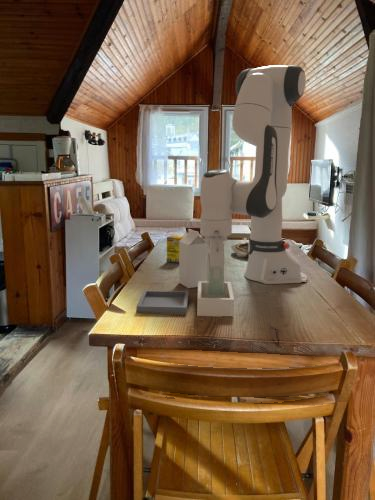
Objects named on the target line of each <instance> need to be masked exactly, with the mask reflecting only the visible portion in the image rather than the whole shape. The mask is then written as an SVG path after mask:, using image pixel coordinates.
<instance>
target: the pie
mask: <svg viewBox="0 0 375 500" xmlns="http://www.w3.org/2000/svg"><path fill="white" fill-rule="evenodd" d="M248 243H249V242H247V241H246V242H243V243H242V242H241V243H238V244H232V246H231V250H232V251H233V252H234V253H235V255H236V256H237V258H239V257H240V258H239V259H247V260H248V258H249V253H248Z"/></svg>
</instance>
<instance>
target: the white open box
mask: <svg viewBox="0 0 375 500" xmlns="http://www.w3.org/2000/svg"><path fill="white" fill-rule="evenodd" d="M234 306H235V297H234V293H233V288H232V283H231V281H224V294H223V295H220V296H212V295H209V280H207V281H198V287H197V306H196V307H197V308H196V309H197V311H196V314H197V317H222V316H234V314H235V310H234V309H235V307H234Z"/></svg>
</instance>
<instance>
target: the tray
mask: <svg viewBox="0 0 375 500" xmlns="http://www.w3.org/2000/svg"><path fill="white" fill-rule="evenodd" d="M188 304H189V291H188V290H158V289H157V290H155V289H154V290H153V289H149V290H147V289H146V290H145V289H143V291H142V294H141V296H140V298H139V300H138V302H137V305H136V313H137V314H161V315H162V314H163V315H165V314H167V315H168V314H169V315H187V314H188V313H187V312H188Z"/></svg>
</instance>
